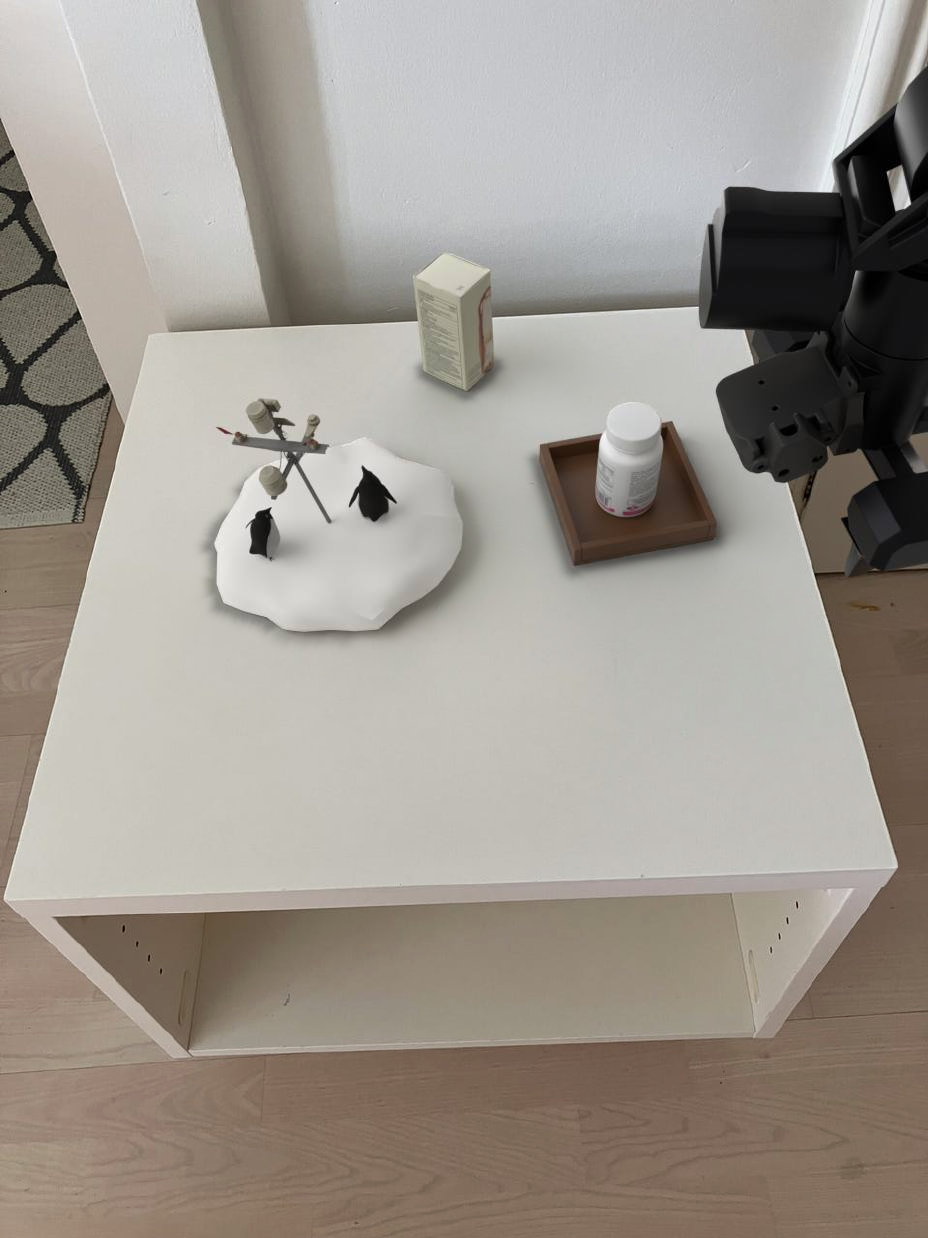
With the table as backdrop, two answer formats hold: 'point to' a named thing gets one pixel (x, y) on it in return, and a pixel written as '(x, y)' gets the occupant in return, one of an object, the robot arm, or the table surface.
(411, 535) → the figurine
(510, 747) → the table surface
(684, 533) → the tray
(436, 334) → the medicine box
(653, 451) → the pill bottle
